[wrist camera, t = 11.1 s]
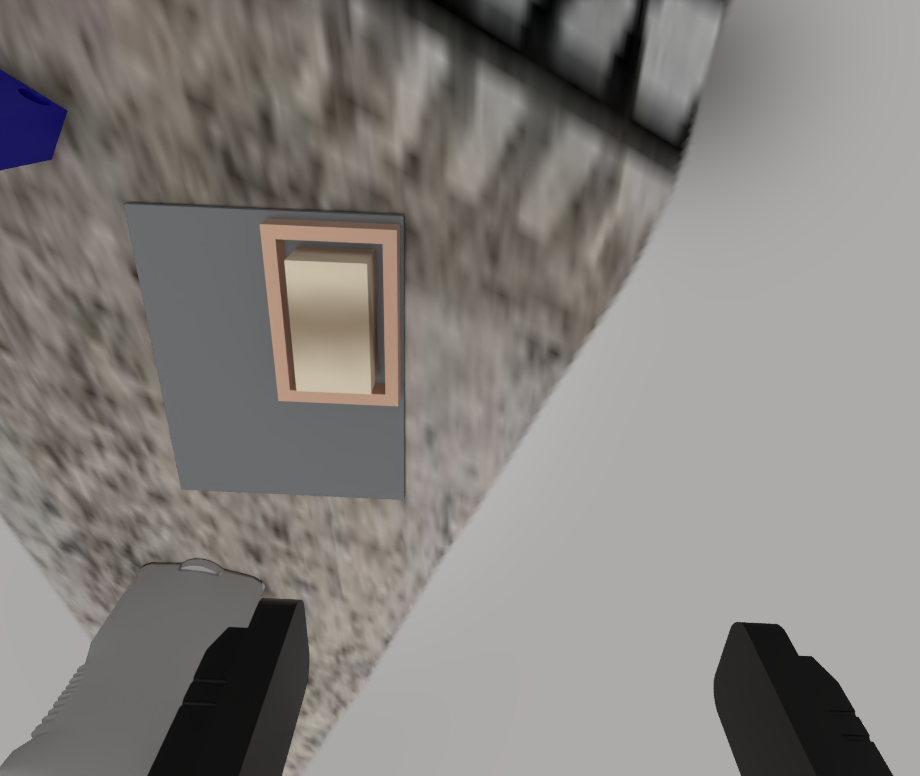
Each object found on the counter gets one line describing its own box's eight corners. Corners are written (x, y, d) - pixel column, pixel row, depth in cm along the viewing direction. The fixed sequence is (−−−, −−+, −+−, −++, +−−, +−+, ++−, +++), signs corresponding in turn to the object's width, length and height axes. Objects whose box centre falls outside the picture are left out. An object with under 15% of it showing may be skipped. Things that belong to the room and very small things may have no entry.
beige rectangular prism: (378, 372, 40) (371, 394, 37) (308, 369, 40) (296, 391, 37) (375, 249, 36) (366, 263, 34) (298, 246, 36) (284, 260, 34)
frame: (267, 218, 36) (259, 223, 34) (399, 224, 36) (396, 230, 34) (285, 390, 41) (278, 400, 39) (400, 395, 41) (398, 406, 39)
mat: (128, 202, 36) (123, 203, 35) (404, 214, 36) (403, 216, 35) (184, 485, 45) (181, 489, 45) (404, 495, 45) (404, 499, 45)
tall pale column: (137, 588, 50) (-84, 923, 30) (133, 549, 48) (-105, 879, 28) (269, 605, 50) (137, 946, 31) (270, 568, 48) (130, 904, 29)
